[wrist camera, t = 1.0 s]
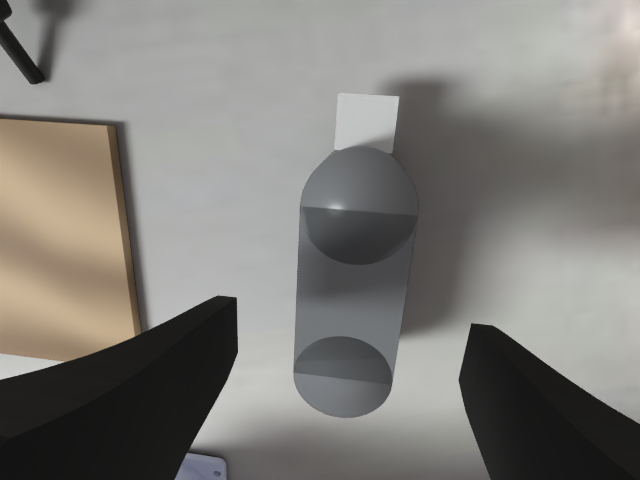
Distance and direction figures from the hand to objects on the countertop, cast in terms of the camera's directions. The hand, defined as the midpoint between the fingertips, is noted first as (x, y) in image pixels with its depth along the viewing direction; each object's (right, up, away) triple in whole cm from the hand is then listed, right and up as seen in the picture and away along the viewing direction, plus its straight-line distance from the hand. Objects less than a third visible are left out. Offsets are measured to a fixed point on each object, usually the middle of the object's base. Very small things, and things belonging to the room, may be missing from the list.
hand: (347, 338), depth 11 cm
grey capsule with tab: (+1, +2, +7) cm, 7 cm away
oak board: (-18, +3, +9) cm, 20 cm away
